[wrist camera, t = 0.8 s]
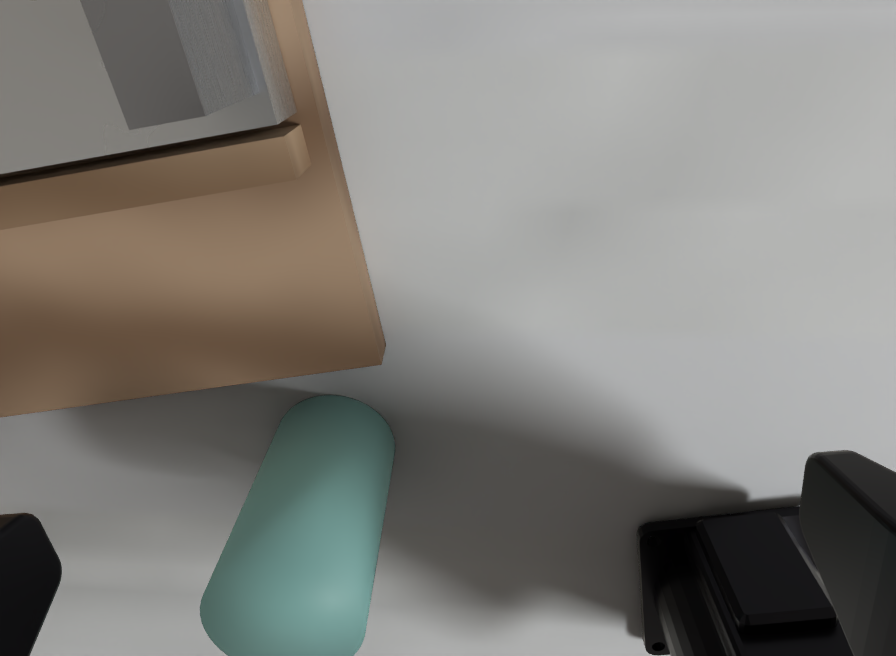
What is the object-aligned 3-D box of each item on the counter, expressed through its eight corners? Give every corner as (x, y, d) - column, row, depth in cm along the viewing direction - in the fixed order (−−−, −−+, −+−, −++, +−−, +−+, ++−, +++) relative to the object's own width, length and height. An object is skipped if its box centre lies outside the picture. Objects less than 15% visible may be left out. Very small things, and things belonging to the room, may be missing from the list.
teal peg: (405, 484, 23) (381, 668, 16) (295, 497, 23) (230, 682, 17) (380, 387, 21) (343, 552, 15) (261, 403, 21) (175, 570, 15)
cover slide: (297, 112, 16) (229, 154, 11) (-39, 172, 17) (-223, 234, 12) (210, -215, 13) (76, -329, 9) (-187, -122, 14) (-494, -180, 10)
